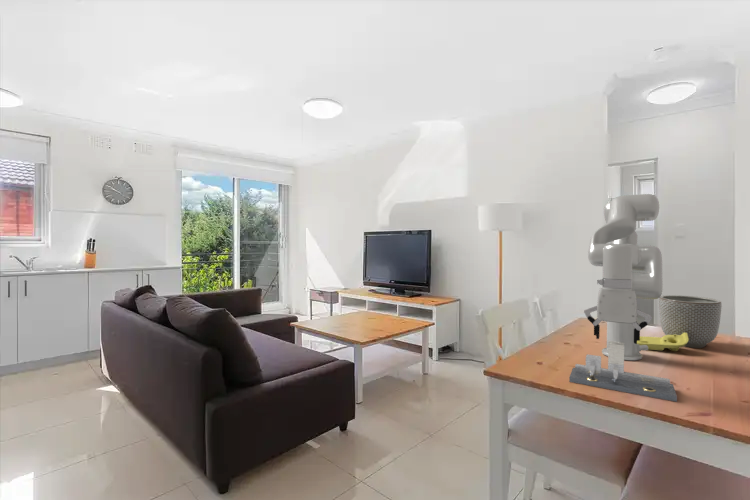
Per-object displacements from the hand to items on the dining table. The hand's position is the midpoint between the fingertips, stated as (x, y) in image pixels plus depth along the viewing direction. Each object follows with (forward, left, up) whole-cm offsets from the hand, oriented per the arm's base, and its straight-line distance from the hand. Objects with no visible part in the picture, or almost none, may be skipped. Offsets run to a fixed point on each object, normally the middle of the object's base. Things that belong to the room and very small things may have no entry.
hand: (616, 340), depth 113 cm
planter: (-61, -31, -14) cm, 70 cm away
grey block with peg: (+1, +1, -11) cm, 11 cm away
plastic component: (-43, -29, -14) cm, 54 cm away
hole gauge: (0, +2, -13) cm, 13 cm away
